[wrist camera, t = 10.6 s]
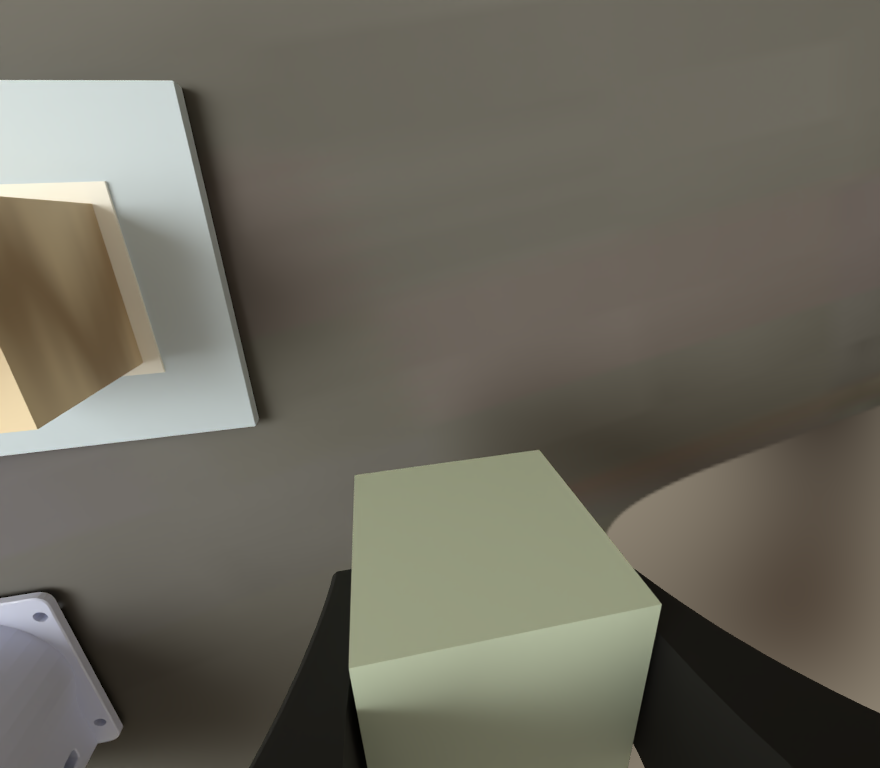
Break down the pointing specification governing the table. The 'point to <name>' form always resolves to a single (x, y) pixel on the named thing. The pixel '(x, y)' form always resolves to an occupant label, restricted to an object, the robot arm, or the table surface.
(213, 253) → the board
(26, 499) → the table surface
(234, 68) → the table surface
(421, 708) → the sage block
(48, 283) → the maple block
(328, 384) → the table surface
